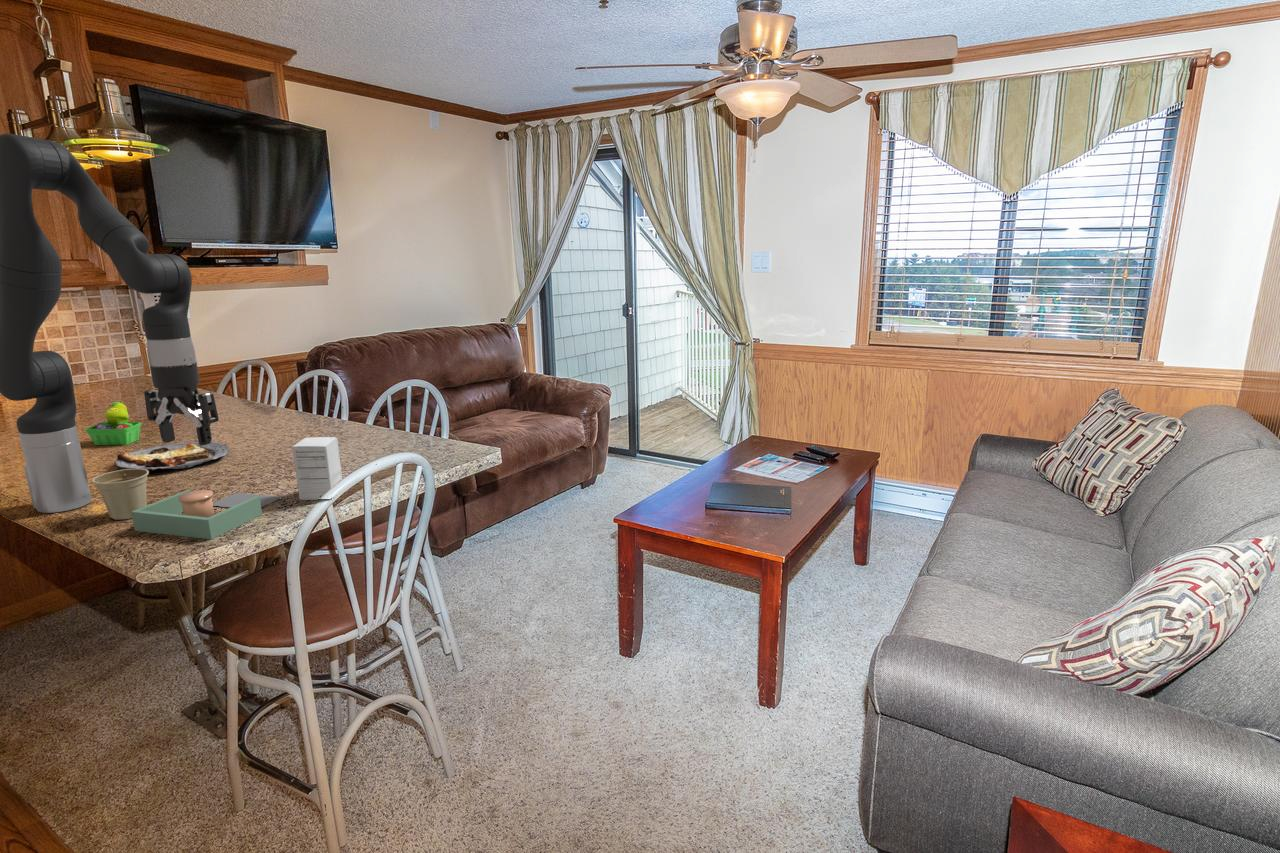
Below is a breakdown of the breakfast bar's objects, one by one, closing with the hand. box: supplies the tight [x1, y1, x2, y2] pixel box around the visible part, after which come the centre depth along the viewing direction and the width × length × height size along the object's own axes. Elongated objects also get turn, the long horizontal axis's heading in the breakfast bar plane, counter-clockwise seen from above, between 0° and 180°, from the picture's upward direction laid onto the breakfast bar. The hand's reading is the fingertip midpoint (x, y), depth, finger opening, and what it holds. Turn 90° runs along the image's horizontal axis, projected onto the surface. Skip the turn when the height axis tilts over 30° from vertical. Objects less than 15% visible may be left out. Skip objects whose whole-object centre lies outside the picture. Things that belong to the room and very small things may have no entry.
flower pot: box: [91, 469, 150, 521], centre depth 140 cm, size 9×9×9 cm
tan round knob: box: [179, 489, 216, 518], centre depth 137 cm, size 6×6×6 cm
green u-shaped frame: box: [131, 489, 263, 540], centre depth 137 cm, size 18×13×4 cm
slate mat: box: [213, 492, 283, 509], centre depth 149 cm, size 12×8×1 cm, turn 77°
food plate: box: [113, 441, 231, 472], centre depth 177 cm, size 25×23×4 cm
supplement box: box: [292, 436, 343, 501], centre depth 152 cm, size 7×7×13 cm
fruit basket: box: [84, 401, 142, 446], centre depth 193 cm, size 11×9×11 cm
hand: (187, 443), depth 133 cm, fingers open, 8 cm apart
